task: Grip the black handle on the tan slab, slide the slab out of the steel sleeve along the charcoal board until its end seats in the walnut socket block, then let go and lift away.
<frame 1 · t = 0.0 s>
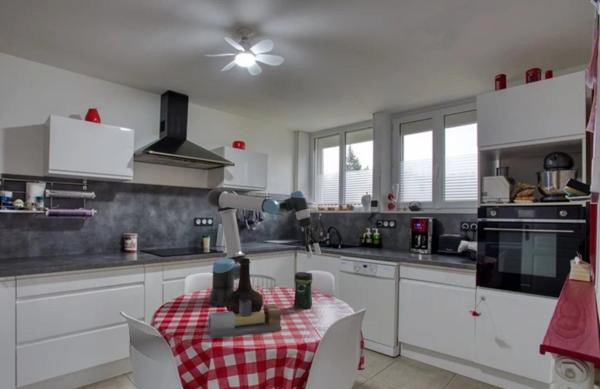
hand: (314, 256, 184), 28 cm above the table, tool tilted 20°, fingers open, 13 cm apart
tan slab: (240, 312, 148), point 8 cm above the table, slide at 0.0 cm
base board: (244, 329, 148), on the table
walnut socket: (271, 326, 153), resting on base board
coffee jar: (302, 307, 185), on the table
steel sleeve: (221, 331, 144), resting on base board
glass bottle: (243, 316, 166), on the table
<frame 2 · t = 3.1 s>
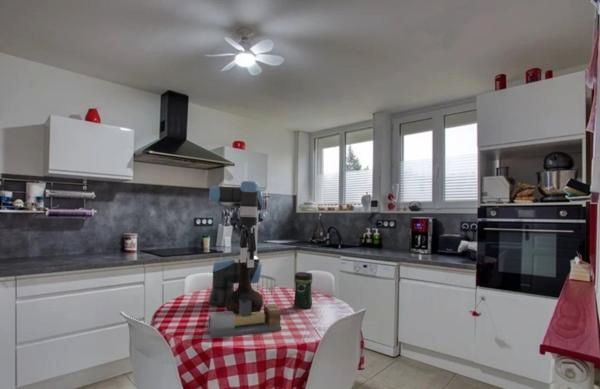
hand: (246, 264, 149), 28 cm above the table, tool pointing down, fingers open, 13 cm apart
nothing on the table moved.
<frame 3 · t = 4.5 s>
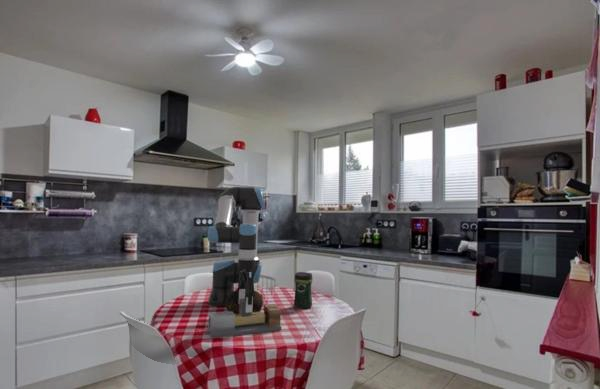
hand: (245, 307, 148), 9 cm above the table, tool pointing down, fingers open, 13 cm apart
nothing on the table moved.
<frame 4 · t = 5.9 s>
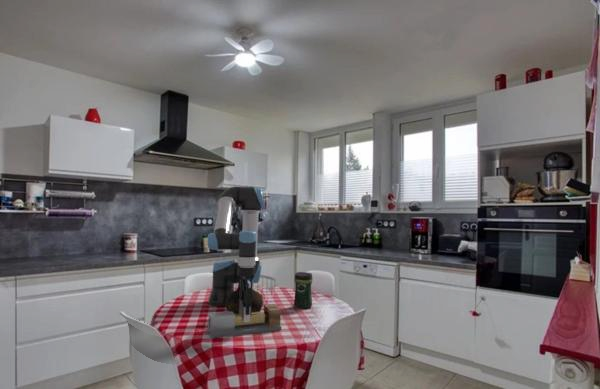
hand: (244, 319, 148), 4 cm above the table, tool pointing down, fingers closed on tan slab, 6 cm apart
tan slab: (240, 312, 148), point 8 cm above the table, slide at 0.0 cm, touching gripper
everything else where it was.
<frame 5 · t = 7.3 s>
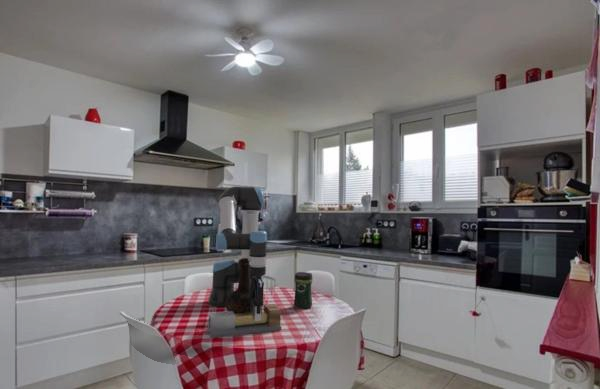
hand: (255, 318, 150), 4 cm above the table, tool pointing down, fingers closed on tan slab, 6 cm apart
tan slab: (251, 311, 150), point 8 cm above the table, slide at 4.9 cm, touching gripper
everything else where it was.
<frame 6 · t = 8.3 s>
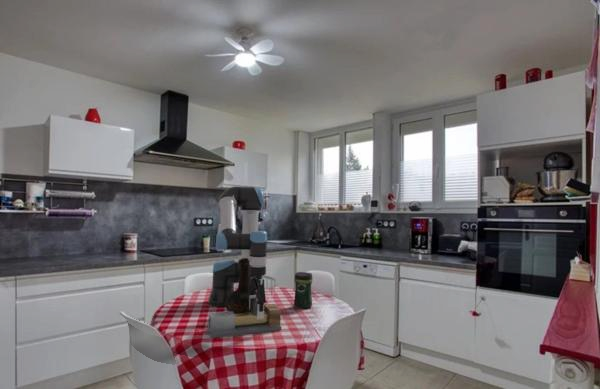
hand: (256, 314, 150), 6 cm above the table, tool pointing down, fingers open, 13 cm apart
tan slab: (251, 311, 150), point 8 cm above the table, slide at 4.9 cm
everything else where it was.
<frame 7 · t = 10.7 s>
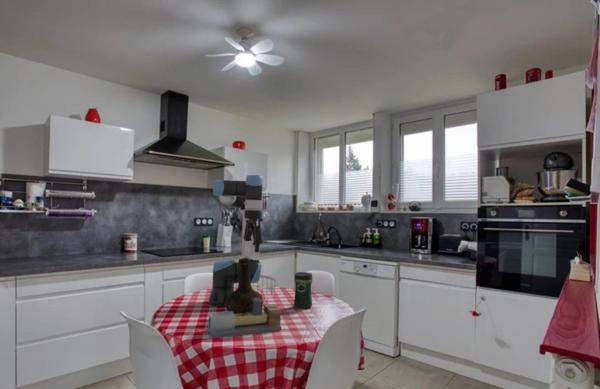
hand: (251, 257, 151), 31 cm above the table, tool pointing down, fingers open, 13 cm apart
nothing on the table moved.
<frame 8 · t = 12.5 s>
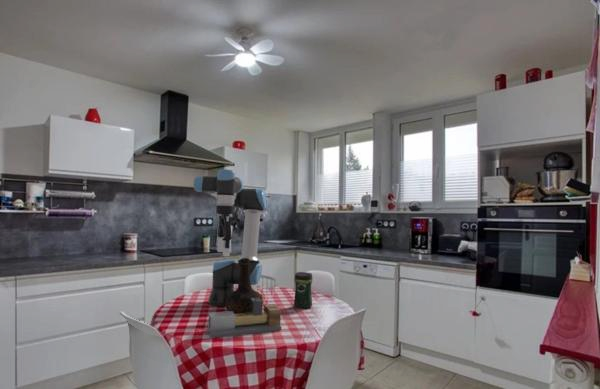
hand: (223, 253, 148), 33 cm above the table, tool pointing down, fingers open, 13 cm apart
nothing on the table moved.
at the end: tan slab slide at 4.9 cm; the gripper is holding nothing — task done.
